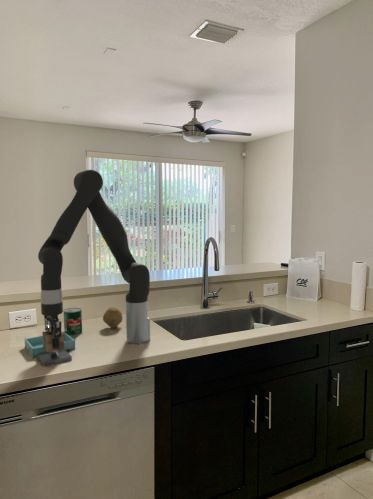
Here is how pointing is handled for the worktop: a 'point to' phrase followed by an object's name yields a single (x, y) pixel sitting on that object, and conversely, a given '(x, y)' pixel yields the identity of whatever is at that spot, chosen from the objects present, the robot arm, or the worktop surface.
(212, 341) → the worktop surface
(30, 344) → the teal tray
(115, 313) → the natural sponge
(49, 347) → the hollow wooden cube
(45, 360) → the gauge pin stand
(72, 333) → the canned tomato
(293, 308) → the worktop surface
